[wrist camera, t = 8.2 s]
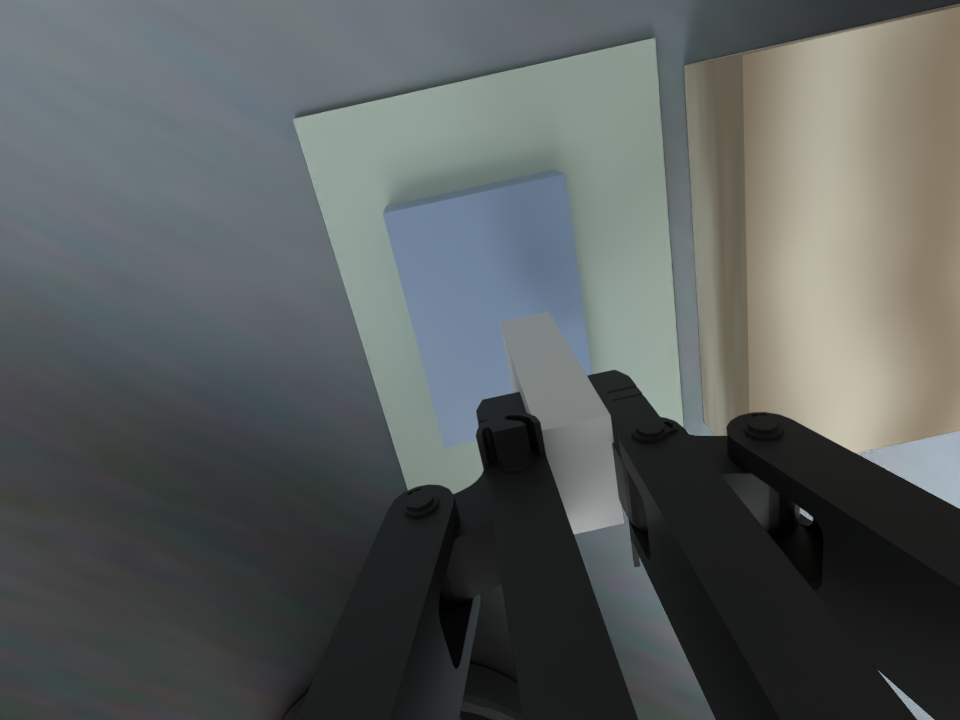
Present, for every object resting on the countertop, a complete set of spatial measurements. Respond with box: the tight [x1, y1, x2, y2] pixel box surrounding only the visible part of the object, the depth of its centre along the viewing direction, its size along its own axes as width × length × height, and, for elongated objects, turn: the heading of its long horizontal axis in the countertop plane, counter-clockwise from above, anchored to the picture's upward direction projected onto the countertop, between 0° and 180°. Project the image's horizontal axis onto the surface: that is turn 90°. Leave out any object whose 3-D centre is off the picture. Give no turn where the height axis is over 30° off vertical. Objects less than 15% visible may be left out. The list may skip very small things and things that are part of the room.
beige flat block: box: [684, 4, 960, 453], centre depth 20 cm, size 12×14×4 cm
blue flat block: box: [383, 169, 592, 448], centre depth 21 cm, size 6×9×2 cm, turn 11°
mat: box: [293, 38, 684, 494], centre depth 22 cm, size 12×16×1 cm
